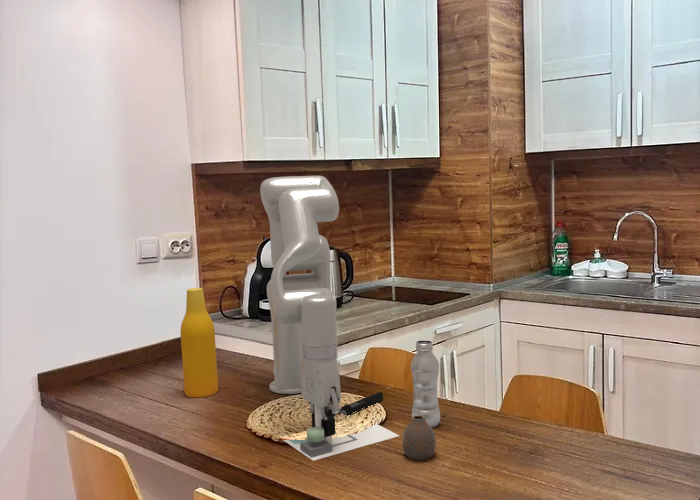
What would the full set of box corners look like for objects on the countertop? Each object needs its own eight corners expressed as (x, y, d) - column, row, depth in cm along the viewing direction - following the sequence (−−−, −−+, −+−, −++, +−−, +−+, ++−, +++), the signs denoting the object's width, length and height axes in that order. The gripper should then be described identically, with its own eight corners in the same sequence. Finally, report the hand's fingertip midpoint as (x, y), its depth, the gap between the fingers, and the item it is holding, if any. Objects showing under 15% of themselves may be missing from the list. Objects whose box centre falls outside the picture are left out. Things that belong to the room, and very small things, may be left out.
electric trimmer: (387, 404, 181) (386, 392, 180) (347, 420, 169) (347, 408, 169) (376, 401, 183) (375, 389, 183) (336, 417, 172) (335, 405, 172)
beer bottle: (216, 385, 201) (209, 285, 197) (220, 395, 192) (214, 290, 188) (182, 390, 198) (175, 288, 194) (186, 400, 189) (178, 293, 186)
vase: (402, 451, 149) (400, 411, 148) (434, 450, 149) (433, 410, 148) (403, 465, 142) (402, 423, 141) (437, 464, 142) (436, 422, 141)
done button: (304, 438, 150) (303, 429, 150) (319, 434, 152) (318, 425, 152) (312, 443, 147) (312, 434, 147) (327, 439, 149) (326, 430, 149)
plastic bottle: (423, 419, 168) (421, 337, 165) (446, 426, 163) (444, 341, 160) (406, 427, 163) (403, 342, 161) (428, 434, 158) (426, 347, 156)
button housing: (300, 449, 151) (300, 443, 151) (320, 444, 153) (320, 437, 153) (311, 457, 147) (311, 450, 146) (332, 451, 149) (332, 444, 149)
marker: (312, 439, 156) (310, 394, 155) (327, 435, 158) (325, 391, 157) (320, 444, 153) (318, 399, 152) (335, 440, 155) (333, 395, 154)
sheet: (278, 439, 159) (278, 436, 159) (360, 418, 170) (360, 415, 170) (313, 463, 145) (313, 460, 145) (399, 438, 157) (399, 435, 156)
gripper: (287, 346, 158) (291, 425, 160) (323, 362, 144) (327, 448, 146) (316, 341, 162) (320, 418, 164) (355, 356, 148) (358, 440, 150)
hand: (323, 431), depth 155 cm, fingers closed on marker, 3 cm apart
